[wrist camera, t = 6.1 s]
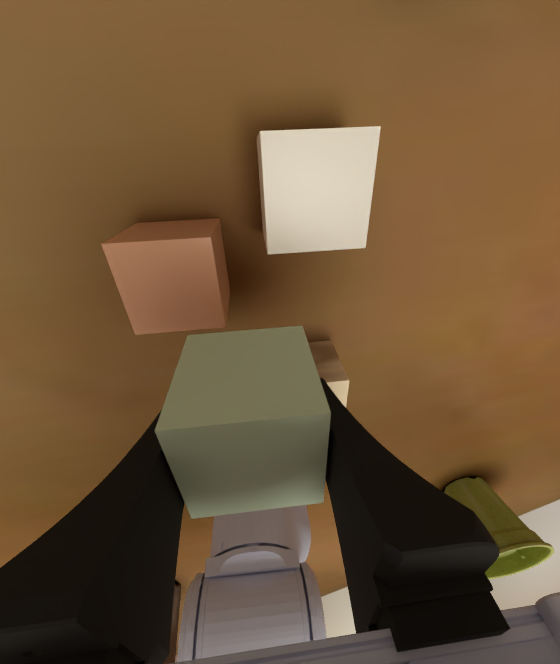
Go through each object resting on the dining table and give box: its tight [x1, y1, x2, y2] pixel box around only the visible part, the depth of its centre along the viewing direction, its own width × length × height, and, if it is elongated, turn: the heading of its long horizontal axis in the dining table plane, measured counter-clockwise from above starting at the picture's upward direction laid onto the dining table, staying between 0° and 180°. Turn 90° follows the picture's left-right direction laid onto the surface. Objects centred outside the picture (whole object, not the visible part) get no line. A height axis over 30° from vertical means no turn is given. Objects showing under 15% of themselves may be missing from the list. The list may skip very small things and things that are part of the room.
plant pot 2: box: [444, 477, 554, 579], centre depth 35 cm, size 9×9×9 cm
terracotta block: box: [101, 218, 230, 335], centre depth 16 cm, size 5×5×5 cm
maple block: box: [308, 340, 349, 407], centre depth 22 cm, size 5×5×5 cm
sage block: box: [155, 326, 331, 519], centre depth 11 cm, size 5×5×5 cm
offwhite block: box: [256, 126, 381, 254], centre depth 15 cm, size 5×5×5 cm
